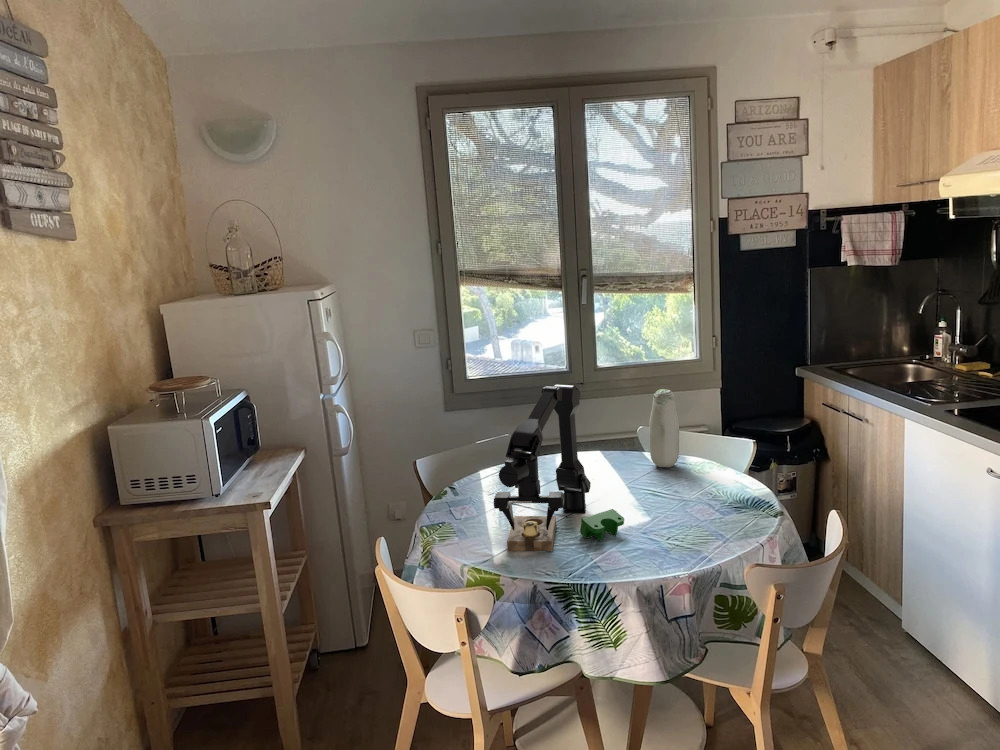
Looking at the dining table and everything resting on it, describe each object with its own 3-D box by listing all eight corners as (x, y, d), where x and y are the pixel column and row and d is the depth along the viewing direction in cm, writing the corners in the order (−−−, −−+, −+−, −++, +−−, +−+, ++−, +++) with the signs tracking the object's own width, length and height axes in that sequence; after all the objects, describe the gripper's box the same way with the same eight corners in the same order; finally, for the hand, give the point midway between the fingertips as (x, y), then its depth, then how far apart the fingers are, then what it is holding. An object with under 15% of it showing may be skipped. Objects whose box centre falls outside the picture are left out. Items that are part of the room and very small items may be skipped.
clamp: (596, 555, 203) (590, 533, 198) (583, 543, 208) (576, 522, 203) (629, 531, 207) (623, 509, 202) (615, 520, 212) (609, 498, 207)
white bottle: (648, 462, 266) (647, 386, 260) (677, 462, 264) (676, 385, 259) (651, 471, 256) (650, 393, 250) (681, 470, 255) (680, 392, 249)
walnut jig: (556, 525, 214) (555, 516, 214) (552, 551, 197) (551, 541, 196) (515, 525, 216) (514, 515, 215) (507, 551, 199) (507, 541, 198)
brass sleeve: (539, 541, 204) (538, 520, 203) (537, 547, 200) (536, 526, 199) (524, 541, 205) (523, 520, 203) (523, 547, 201) (522, 526, 200)
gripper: (564, 465, 205) (566, 518, 208) (497, 466, 208) (500, 518, 211) (561, 478, 194) (564, 534, 197) (491, 479, 197) (495, 534, 200)
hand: (530, 529), depth 201 cm, fingers open, 9 cm apart
